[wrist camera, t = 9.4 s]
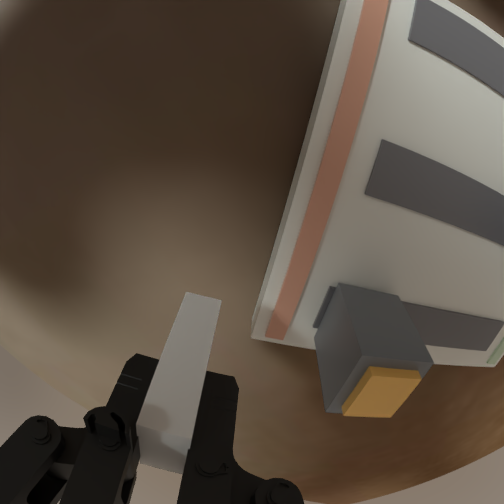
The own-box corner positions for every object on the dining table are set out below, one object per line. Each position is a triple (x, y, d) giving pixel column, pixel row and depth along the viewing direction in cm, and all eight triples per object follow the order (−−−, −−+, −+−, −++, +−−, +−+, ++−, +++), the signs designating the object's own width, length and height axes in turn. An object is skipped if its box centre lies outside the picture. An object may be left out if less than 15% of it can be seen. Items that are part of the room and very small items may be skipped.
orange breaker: (313, 337, 17) (326, 421, 12) (338, 282, 15) (365, 364, 10) (370, 346, 17) (394, 423, 12) (398, 295, 15) (438, 371, 10)
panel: (252, 318, 19) (244, 421, 12) (347, -29, 10) (400, -101, 3) (485, 352, 20) (522, 417, 14) (581, 128, 11) (651, 156, 5)
